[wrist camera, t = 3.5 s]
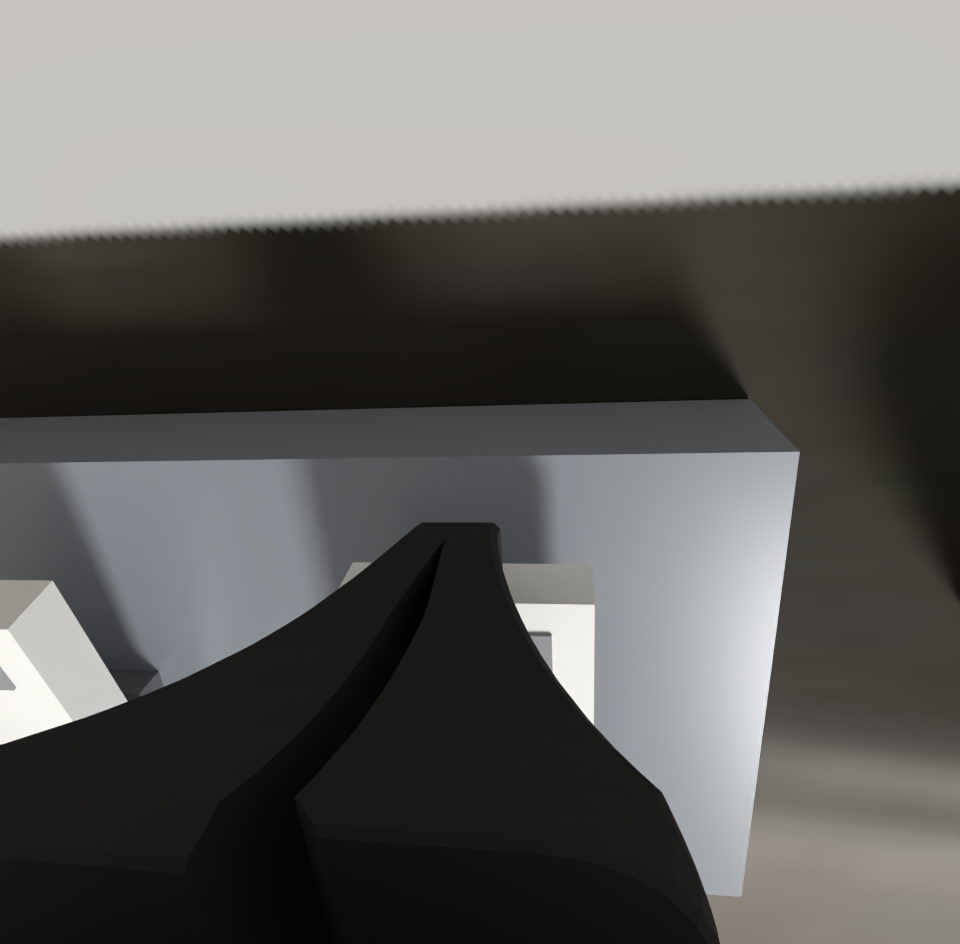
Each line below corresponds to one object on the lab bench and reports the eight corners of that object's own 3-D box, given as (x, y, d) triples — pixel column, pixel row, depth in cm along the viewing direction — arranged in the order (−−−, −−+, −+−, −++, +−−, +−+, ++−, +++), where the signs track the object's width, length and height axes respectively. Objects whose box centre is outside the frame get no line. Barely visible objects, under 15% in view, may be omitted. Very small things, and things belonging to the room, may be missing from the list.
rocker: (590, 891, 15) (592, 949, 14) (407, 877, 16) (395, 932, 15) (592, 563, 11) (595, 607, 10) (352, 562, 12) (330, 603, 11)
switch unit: (712, 782, 20) (749, 929, 16) (56, 748, 23) (-52, 863, 19) (749, 398, 15) (815, 467, 11) (-76, 420, 18) (-255, 480, 14)
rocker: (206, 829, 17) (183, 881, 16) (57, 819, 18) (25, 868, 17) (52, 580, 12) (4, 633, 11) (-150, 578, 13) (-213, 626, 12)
